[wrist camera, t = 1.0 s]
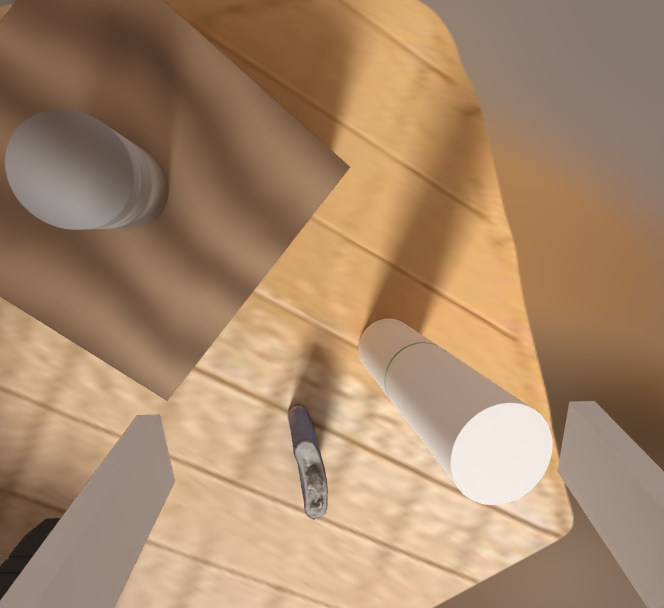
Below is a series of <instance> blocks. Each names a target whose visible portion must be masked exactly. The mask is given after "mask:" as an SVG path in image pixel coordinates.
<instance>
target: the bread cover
mask: <svg viewBox="0 0 664 608" xmlns="http://www.w3.org/2000/svg"><path fill="white" fill-rule="evenodd" d="M349 168H350V166H348V165H347V164H346V163H345V162H344V161H343V160H342V159H341V158H340V157H338V156H337V155H336V154H335V153H334V152H333V151H332V150H331V149H329V148H328V147H327V146H326V145H325V144H324V143H323V142H322V141H320V140H319V139H318V138H317V137H316V136H315V135H314V134H313V133H312V132H310V131H309V130H308V129H307V128H306V127H305V126H304V125H303V124H301V123H300V122H299V121H298V120H297V119H296V118H295V117H294V116H292V115H291V114H290V113H289V112H288V111H287V110H286V109H285V108H284V107H282V106H281V105H280V104H279V103H278V102H277V101H276V100H275V99H273V98H272V97H271V96H270V95H269V94H268V93H267V92H266V91H264V90H263V89H262V88H261V87H260V86H259V85H258V84H257V83H256V82H254V81H253V80H252V79H251V78H250V77H249V76H248V75H247V74H245V73H244V72H243V71H242V70H241V69H240V68H239V67H238V66H236V65H235V64H234V63H233V62H232V61H231V60H230V59H229V58H228V57H226V56H225V55H224V54H223V53H222V52H221V51H220V50H219V49H217V48H216V47H215V46H214V45H213V44H212V43H211V42H210V41H208V40H207V39H206V38H205V37H204V36H203V35H202V34H201V33H200V32H198V31H197V30H196V29H195V28H194V27H193V26H192V25H191V24H189V23H188V22H187V21H186V20H185V19H184V18H183V17H182V16H180V15H179V14H178V13H177V12H176V11H175V10H174V9H173V8H172V7H170V6H169V5H168V4H167V3H166V2H165V1H164V0H16V2H15V3H14V5H13V6H12V7H11V9H10V10H9V11H8V13H7V14H6V15H5V17H4V18H3V19H2V21H1V22H0V297H2V298H3V299H5V300H7V301H8V302H10V303H11V304H13V305H15V306H16V307H18V308H19V309H21V310H23V311H24V312H26V313H27V314H29V315H31V316H32V317H34V318H35V319H37V320H39V321H40V322H42V323H43V324H45V325H47V326H48V327H50V328H51V329H53V330H55V331H56V332H58V333H59V334H61V335H63V336H64V337H66V338H67V339H69V340H71V341H72V342H74V343H75V344H77V345H79V346H80V347H82V348H83V349H85V350H87V351H88V352H90V353H91V354H93V355H95V356H96V357H98V358H99V359H101V360H103V361H104V362H106V363H107V364H109V365H111V366H112V367H114V368H115V369H117V370H119V371H120V372H122V373H123V374H125V375H127V376H128V377H130V378H131V379H133V380H135V381H136V382H138V383H139V384H141V385H143V386H144V387H146V388H147V389H149V390H151V391H152V392H154V393H155V394H157V395H159V396H160V397H162V398H163V399H165V400H167V401H168V400H169V398H170V397H171V396H172V395H173V393H174V392H175V391H176V389H177V388H178V387H179V386H180V384H181V383H182V382H183V380H184V379H185V378H186V377H187V375H188V374H189V373H190V372H191V370H192V369H193V368H194V366H195V365H196V364H197V363H198V361H199V360H200V359H201V357H202V356H203V355H204V354H205V352H206V351H207V350H208V348H209V347H210V346H211V345H212V343H213V342H214V341H215V340H216V338H217V337H218V336H219V334H220V333H221V332H222V331H223V329H224V328H225V327H226V325H227V324H228V323H229V322H230V320H231V319H232V318H233V317H234V315H235V314H236V313H237V311H238V310H239V309H240V308H241V306H242V305H243V304H244V302H245V301H246V300H247V299H248V297H249V296H250V295H251V294H252V292H253V291H254V290H255V288H256V287H257V286H258V285H259V283H260V282H261V281H262V279H263V278H264V277H265V276H266V274H267V273H268V272H269V270H270V269H271V268H272V267H273V265H274V264H275V263H276V262H277V260H278V259H279V258H280V256H281V255H282V254H283V253H284V251H285V250H286V249H287V247H288V246H289V245H290V244H291V242H292V241H293V240H294V239H295V237H296V236H297V235H298V233H299V232H300V231H301V230H302V228H303V227H304V226H305V224H306V223H307V222H308V221H309V219H310V218H311V217H312V215H313V214H314V213H315V212H316V210H317V209H318V208H319V207H320V205H321V204H322V203H323V201H324V200H325V199H326V198H327V196H328V195H329V194H330V192H331V191H332V190H333V189H334V187H335V186H336V185H337V184H338V182H339V181H340V180H341V178H342V177H343V176H344V175H345V173H346V172H347V171H348V169H349Z"/></svg>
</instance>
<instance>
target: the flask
mask: <svg viewBox="0 0 664 608" xmlns="http://www.w3.org/2000/svg"><path fill="white" fill-rule="evenodd" d="M288 420H289V424H290V430H291V435H292V442H293V451H294V456H295V458H296V461H297V463H298V469H299V474H300V481H301V488H302V493H303V499H304V508H305V513H306V514H307V516H308V517H310V518H312V519H317V518H320V517H322V516H323V515H324V514H325V513H326V510H327V500H328V499H327V493H328V488H327V478H326V473H325V468H324V464H323V461H322V457H321V453H320V450H319V447H318V443H317V439H316V435H315V431H314V427H313V425H312V422H311V418H310V416H309V413H308V412H307V410H306V409H305V408H304V407H303V406H301V405H296V406H293V407H291V408H290V410H289V412H288Z"/></svg>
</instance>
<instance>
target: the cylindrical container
mask: <svg viewBox="0 0 664 608" xmlns="http://www.w3.org/2000/svg"><path fill="white" fill-rule="evenodd" d="M358 354H359V357H360V360H361V362H362V364H363V365H364V366H365V368H366V369H367V370H368V372H369V373H370V374H371V376H372V377H373V378H374V379H375V381H376V382H377V383H378V385H379V386H380V387H381V389H382V390H383V391H384V392H385V394H386V395H387V396H388V398H389V399H390V400H391V402H392V403H393V404H394V405H395V407H396V408H397V409H398V411H399V412H400V413H401V415H402V416H403V417H404V418H405V420H406V421H407V422H408V424H409V425H410V426H411V427H412V429H413V430H414V431H415V433H416V434H417V435H418V437H419V438H420V439H421V440H422V442H423V443H424V444H425V446H426V447H427V448H428V450H429V451H430V452H431V453H432V455H433V456H434V457H435V459H436V460H437V461H438V462H439V464H440V465H441V466H442V468H443V469H444V470H445V472H446V473H447V474H448V475H449V477H450V478H451V479H452V481H453V482H454V483H455V484H456V486H457V487H458V488H459V489H460V491H461V492H462V493H463V494H464V495H465V496H467V497H468V498H469V499H471V500H473V501H475V502H477V503H481V504H485V505H499V504H504V503H508V502H511V501H513V500H516V499H518V498H520V497H521V496H523V495H525V494H526V493H527V492H529V491H530V490H531V489H532V488H533V487H534V486H535V485H536V484H537V483H538V482H539V481H540V479H541V478H542V476H543V475H544V473H545V471H546V469H547V467H548V465H549V462H550V458H551V454H552V436H551V432H550V429H549V426H548V424H547V422H546V421H545V420H544V418H543V417H542V416H541V415H540V414H539V413H538V412H537V411H536V410H534V409H533V408H531V407H530V406H528V405H527V404H525V403H524V402H522V401H521V400H519V399H518V398H516V397H515V396H513V395H512V394H510V393H509V392H507V391H506V390H504V389H503V388H501V387H500V386H498V385H497V384H495V383H494V382H492V381H491V380H489V379H488V378H486V377H485V376H483V375H482V374H480V373H479V372H477V371H476V370H474V369H473V368H471V367H470V366H468V365H467V364H465V363H464V362H462V361H461V360H459V359H458V358H456V357H455V356H453V355H451V354H450V353H448V352H447V351H445V350H444V349H442V348H441V347H439V346H438V345H436V344H435V343H433V342H432V341H430V340H429V339H427V338H426V337H424V336H423V335H421V334H420V333H418V332H417V331H415V330H414V329H412V328H411V327H409V326H408V325H406V324H405V323H403V322H401V321H400V320H397V319H392V318H386V319H381V320H377V321H375V322H374V323H372V324H371V325H369V326H368V327H367V328H366V329H365V330H364V332H363V334H362V335H361V337H360V340H359V345H358Z"/></svg>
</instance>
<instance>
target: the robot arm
mask: <svg viewBox="0 0 664 608" xmlns="http://www.w3.org/2000/svg"><path fill="white" fill-rule="evenodd" d="M558 473H559V474H560V476H561V477H562V479H563V480H564V482H565V483H566V485H567V486H568V488H569V489H570V491H571V492H572V494H573V495H574V497H575V498H576V500H577V501H578V503H579V504H580V506H581V507H582V509H583V511H584V512H585V514H586V515H587V517H588V518H589V519H590V521H591V523H592V524H593V526H594V527H595V529H596V530H597V532H598V533H599V535H600V536H601V538H602V539H603V541H604V542H605V544H606V545H607V547H608V548H609V550H610V551H611V553H612V554H613V556H614V557H615V559H616V560H617V562H618V563H619V565H620V566H621V568H622V569H623V571H624V572H625V574H626V576H627V577H628V578H629V580H630V581H631V583H632V585H633V586H634V588H635V589H636V591H637V592H638V594H639V595H640V597H641V598H642V600H643V601H644V603H645V604H646V606H647V607H648V608H664V472H663V471H662V470H661V469H660V467H659V466H658V465H657V464H656V463H655V462H654V461H653V460H652V459H651V458H650V457H649V456H648V455H647V454H646V453H645V452H644V451H643V450H642V449H641V448H640V447H639V446H638V445H637V444H636V443H635V442H634V441H633V440H632V439H631V438H630V437H629V436H628V435H627V434H626V433H625V432H624V431H623V430H622V429H621V428H620V427H619V426H618V425H617V424H616V423H615V422H614V421H613V420H612V419H611V418H610V417H609V416H608V415H607V413H606V412H604V410H603V409H602V408H601V407H600V406H599V405H598V404H597V403H596V402H595V401H580V402H570V403H569V409H568V414H567V420H566V426H565V431H564V437H563V443H562V449H561V454H560V460H559V466H558ZM174 482H175V479H174V475H173V470H172V466H171V461H170V457H169V452H168V448H167V443H166V439H165V434H164V430H163V425H162V421H161V417H160V415H137V416H136V417H135V419H134V420H133V421H132V423H131V424H130V425H129V427H128V428H127V429H126V431H125V432H124V433H123V435H122V436H121V438H120V439H119V440H118V442H117V443H116V444H115V446H114V447H113V448H112V450H111V451H110V452H109V454H108V455H107V457H106V458H105V459H104V461H103V462H102V463H101V465H100V466H99V467H98V469H97V470H96V471H95V473H94V474H93V476H92V477H91V478H90V480H89V481H88V482H87V484H86V485H85V486H84V488H83V489H82V490H81V492H80V493H79V495H78V496H77V497H76V499H75V500H74V501H73V503H72V504H71V505H70V507H69V508H68V509H67V511H66V512H65V514H64V515H63V516H62V518H53V519H45V520H44V521H43V522H41V523H40V524H39V525H38V526H37V527H35V528H34V529H33V530H32V531H30V532H29V533H28V534H27V535H25V536H24V538H23V539H22V540H21V541H20V543H19V544H18V545H17V546H16V548H15V549H14V550H13V551H12V553H11V554H10V555H9V559H8V560H5V562H4V563H3V564H2V565H1V567H0V608H114V607H115V605H116V603H117V601H118V599H119V596H120V594H121V592H122V590H123V588H124V586H125V584H126V582H127V580H128V578H129V576H130V574H131V572H132V569H133V567H134V565H135V563H136V561H137V559H138V557H139V555H140V553H141V551H142V549H143V547H144V545H145V542H146V540H147V538H148V536H149V534H150V532H151V530H152V528H153V526H154V524H155V522H156V520H157V518H158V516H159V513H160V511H161V509H162V507H163V505H164V503H165V501H166V499H167V497H168V495H169V493H170V491H171V489H172V486H173V484H174Z"/></svg>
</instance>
